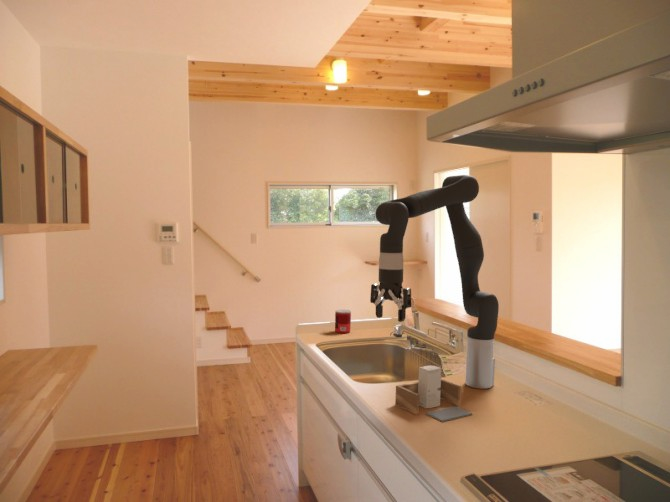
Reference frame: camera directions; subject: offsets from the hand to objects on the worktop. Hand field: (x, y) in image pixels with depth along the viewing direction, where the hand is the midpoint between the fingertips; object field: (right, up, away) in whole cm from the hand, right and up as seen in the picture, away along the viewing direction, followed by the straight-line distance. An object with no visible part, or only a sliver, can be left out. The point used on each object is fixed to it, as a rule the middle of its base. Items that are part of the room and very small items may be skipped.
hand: (390, 319), depth 165 cm
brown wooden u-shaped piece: (+12, -27, +3) cm, 30 cm away
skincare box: (+13, -28, +3) cm, 31 cm away
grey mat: (+17, -28, -5) cm, 33 cm away
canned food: (-13, -21, +107) cm, 110 cm away
